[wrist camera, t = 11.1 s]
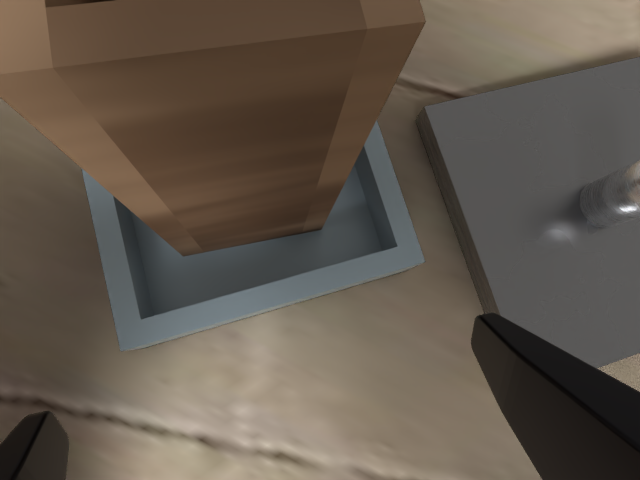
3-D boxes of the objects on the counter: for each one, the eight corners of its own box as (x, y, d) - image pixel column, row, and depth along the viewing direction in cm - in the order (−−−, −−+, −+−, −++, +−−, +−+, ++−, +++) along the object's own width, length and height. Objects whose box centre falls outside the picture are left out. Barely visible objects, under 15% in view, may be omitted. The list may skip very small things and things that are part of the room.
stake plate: (511, 388, 18) (609, 411, 12) (415, 119, 20) (465, 45, 14) (748, 303, 20) (916, 294, 14) (639, 67, 22) (752, -15, 16)
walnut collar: (321, 229, 17) (426, 21, 6) (183, 256, 17) (-23, 77, 5) (293, 106, 18) (334, -286, 7) (161, 126, 18) (-54, -282, 6)
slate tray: (142, 348, 16) (120, 351, 14) (86, 95, 18) (58, 58, 16) (404, 271, 18) (425, 261, 16) (329, 47, 20) (338, 7, 17)
